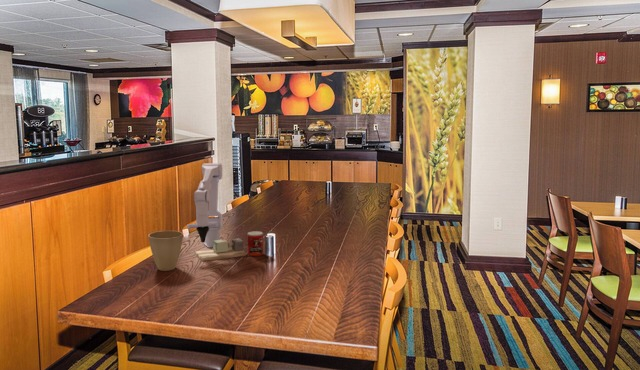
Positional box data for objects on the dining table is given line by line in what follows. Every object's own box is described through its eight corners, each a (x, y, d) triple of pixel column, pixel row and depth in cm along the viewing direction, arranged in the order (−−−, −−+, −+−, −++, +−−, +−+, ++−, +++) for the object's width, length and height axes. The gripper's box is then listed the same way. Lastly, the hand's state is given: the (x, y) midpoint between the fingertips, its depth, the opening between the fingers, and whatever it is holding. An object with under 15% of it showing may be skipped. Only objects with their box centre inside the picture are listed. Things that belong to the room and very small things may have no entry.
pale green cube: (213, 250, 248) (212, 240, 248) (224, 248, 251) (224, 239, 251) (216, 252, 244) (215, 242, 243) (227, 251, 247) (227, 241, 246)
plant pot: (148, 274, 216) (147, 239, 214) (150, 265, 230) (149, 231, 228) (184, 272, 220) (183, 237, 218) (184, 262, 234) (182, 229, 232)
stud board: (194, 254, 249) (194, 241, 248) (236, 248, 259) (236, 236, 258) (202, 261, 237) (201, 248, 236) (245, 255, 247) (245, 242, 246)
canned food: (248, 257, 244) (248, 235, 243) (246, 252, 252) (246, 231, 250) (264, 255, 246) (264, 234, 245) (261, 251, 254) (261, 230, 252)
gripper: (189, 217, 234) (189, 245, 236) (219, 214, 241) (219, 242, 243) (185, 214, 240) (186, 242, 242) (215, 212, 247) (215, 238, 249)
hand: (202, 241), depth 243 cm, fingers closed
